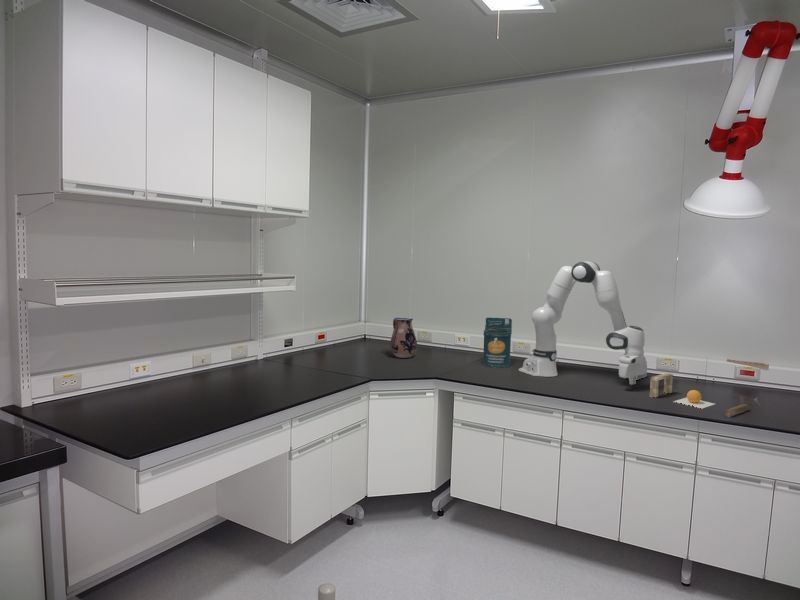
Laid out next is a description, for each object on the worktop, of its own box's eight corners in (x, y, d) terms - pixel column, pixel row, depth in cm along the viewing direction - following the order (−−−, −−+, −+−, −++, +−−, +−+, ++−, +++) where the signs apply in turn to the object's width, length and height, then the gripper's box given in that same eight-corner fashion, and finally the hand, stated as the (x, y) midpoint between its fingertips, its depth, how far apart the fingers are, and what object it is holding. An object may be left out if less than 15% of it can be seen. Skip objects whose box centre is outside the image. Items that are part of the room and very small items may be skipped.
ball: (697, 405, 243) (684, 402, 247) (703, 403, 246) (690, 400, 251) (697, 392, 242) (684, 389, 247) (704, 390, 246) (690, 387, 250)
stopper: (724, 416, 227) (724, 410, 227) (742, 409, 238) (743, 403, 237) (729, 417, 226) (729, 411, 225) (747, 410, 236) (748, 404, 236)
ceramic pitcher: (402, 360, 330) (402, 321, 328) (381, 355, 346) (381, 317, 344) (422, 357, 342) (423, 319, 339) (401, 352, 358) (401, 315, 355)
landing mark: (673, 401, 248) (673, 401, 248) (687, 397, 255) (687, 397, 255) (701, 408, 237) (701, 408, 237) (715, 404, 245) (715, 403, 245)
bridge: (649, 396, 256) (650, 377, 255) (665, 392, 265) (667, 373, 264) (655, 398, 254) (656, 378, 253) (671, 393, 262) (673, 374, 261)
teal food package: (510, 363, 328) (512, 318, 326) (509, 368, 313) (510, 321, 310) (484, 361, 332) (485, 317, 330) (481, 366, 317) (483, 320, 314)
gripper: (639, 354, 278) (638, 380, 280) (617, 358, 267) (615, 385, 268) (651, 356, 273) (649, 382, 275) (628, 361, 262) (627, 388, 263)
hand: (632, 384), depth 271 cm, fingers closed
